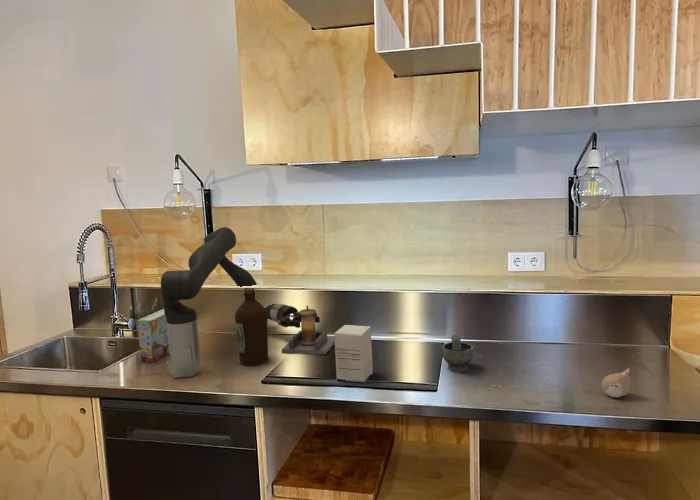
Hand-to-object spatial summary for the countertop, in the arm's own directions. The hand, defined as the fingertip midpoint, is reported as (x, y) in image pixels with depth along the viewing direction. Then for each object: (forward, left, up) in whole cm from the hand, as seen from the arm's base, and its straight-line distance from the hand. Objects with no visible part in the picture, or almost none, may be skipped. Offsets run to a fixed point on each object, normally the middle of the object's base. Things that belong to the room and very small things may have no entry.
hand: (309, 322), depth 182 cm
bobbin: (+1, 0, -8) cm, 8 cm away
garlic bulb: (-57, -79, -10) cm, 98 cm away
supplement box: (-30, -13, -10) cm, 34 cm away
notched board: (+1, 0, -9) cm, 10 cm away
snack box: (+8, +53, -10) cm, 54 cm away
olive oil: (-9, +19, -10) cm, 24 cm away
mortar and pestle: (-30, -45, -10) cm, 55 cm away
